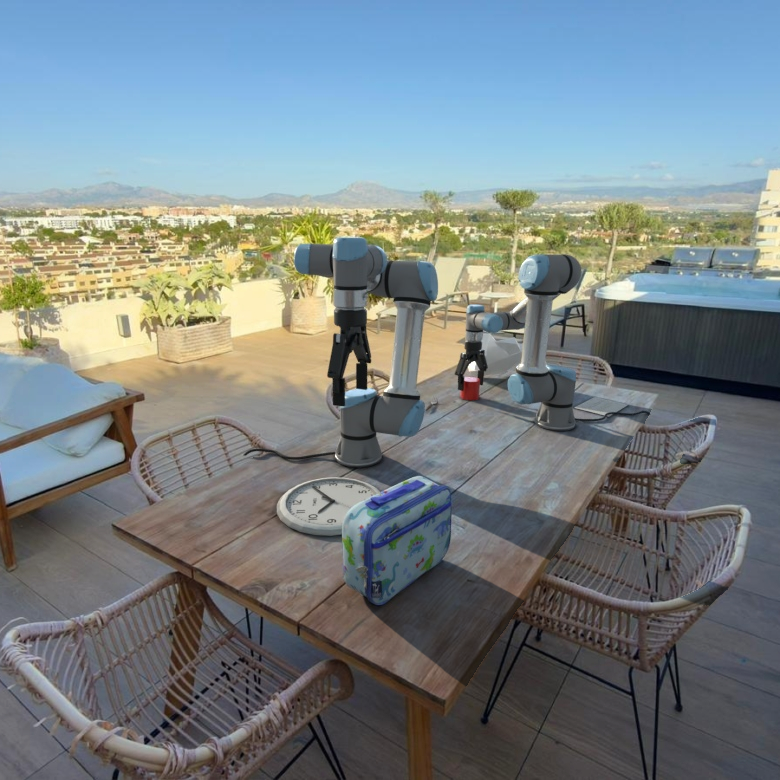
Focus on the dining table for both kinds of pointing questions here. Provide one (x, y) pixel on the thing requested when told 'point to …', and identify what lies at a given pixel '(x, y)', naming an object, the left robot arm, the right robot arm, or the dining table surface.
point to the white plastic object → (498, 355)
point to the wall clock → (322, 504)
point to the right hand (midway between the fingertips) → (470, 387)
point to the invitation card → (601, 406)
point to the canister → (471, 388)
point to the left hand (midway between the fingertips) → (350, 396)
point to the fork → (432, 403)
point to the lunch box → (395, 537)
